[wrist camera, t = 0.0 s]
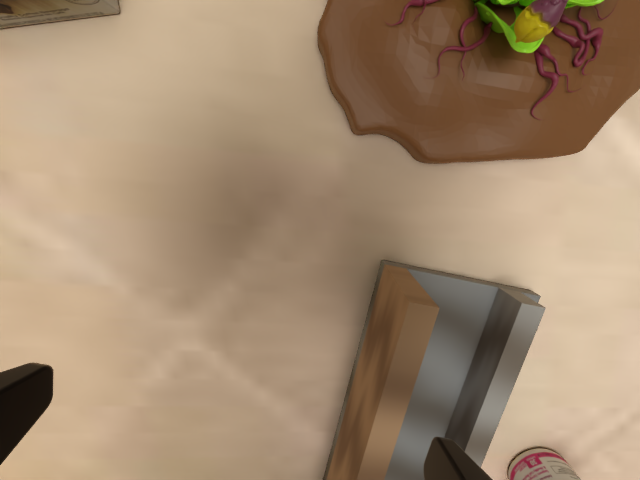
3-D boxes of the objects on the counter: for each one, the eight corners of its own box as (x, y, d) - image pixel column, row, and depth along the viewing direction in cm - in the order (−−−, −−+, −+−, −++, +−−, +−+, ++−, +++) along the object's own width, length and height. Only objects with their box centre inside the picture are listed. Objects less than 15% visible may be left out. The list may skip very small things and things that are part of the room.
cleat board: (440, 521, 27) (481, 640, 20) (317, 500, 27) (316, 614, 20) (531, 290, 22) (624, 345, 15) (381, 259, 22) (409, 301, 15)
